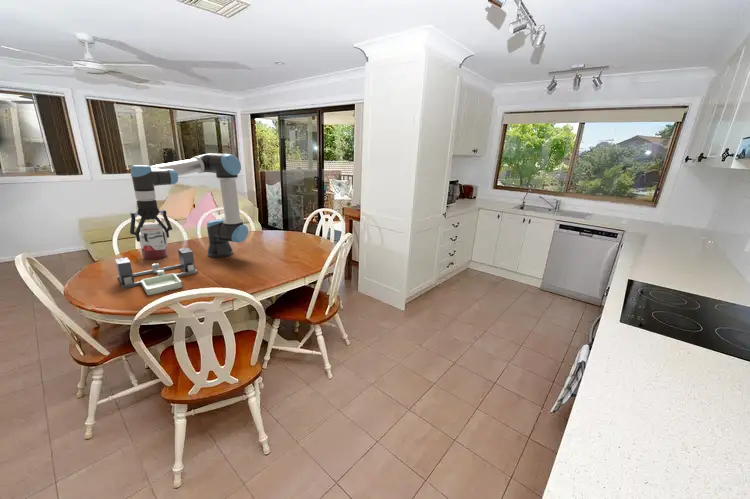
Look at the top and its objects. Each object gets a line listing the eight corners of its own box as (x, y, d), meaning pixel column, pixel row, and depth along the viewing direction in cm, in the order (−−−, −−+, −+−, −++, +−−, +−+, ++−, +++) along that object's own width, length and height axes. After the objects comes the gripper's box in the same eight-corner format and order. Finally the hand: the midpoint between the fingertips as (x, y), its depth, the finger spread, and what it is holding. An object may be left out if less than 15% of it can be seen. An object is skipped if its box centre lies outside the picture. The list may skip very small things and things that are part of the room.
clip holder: (190, 265, 185) (187, 246, 181) (198, 272, 175) (195, 252, 171) (117, 279, 162) (112, 257, 158) (122, 288, 152) (117, 266, 148)
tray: (174, 278, 166) (174, 272, 165) (182, 287, 156) (181, 281, 155) (141, 285, 156) (140, 279, 155) (147, 295, 146) (146, 289, 146)
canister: (144, 261, 187) (138, 233, 182) (141, 255, 196) (136, 228, 191) (169, 257, 195) (164, 230, 190) (165, 252, 204) (161, 226, 199)
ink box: (144, 251, 146) (139, 227, 142) (144, 248, 150) (140, 224, 146) (165, 249, 151) (161, 225, 147) (165, 246, 154) (161, 223, 151)
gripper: (171, 197, 153) (178, 240, 160) (115, 200, 138) (125, 248, 145) (175, 199, 148) (182, 243, 155) (117, 202, 133) (127, 252, 140)
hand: (154, 245), depth 150 cm, fingers closed on ink box, 9 cm apart
